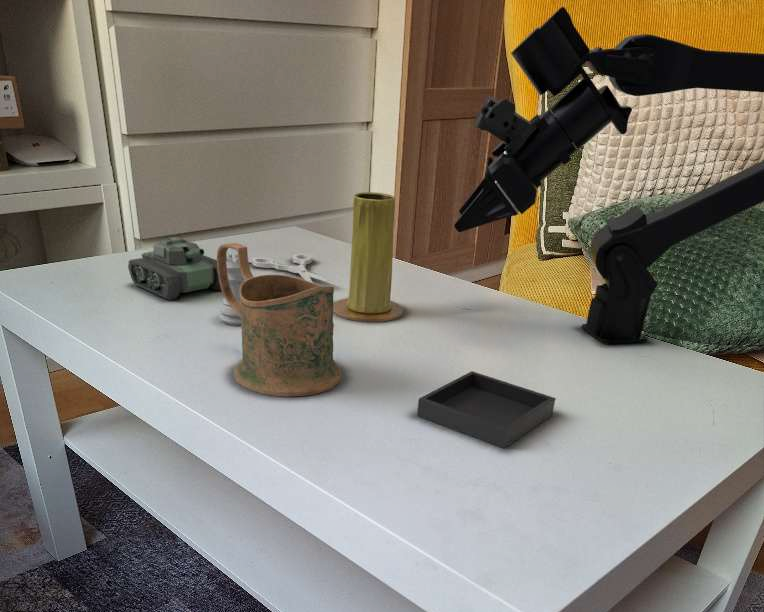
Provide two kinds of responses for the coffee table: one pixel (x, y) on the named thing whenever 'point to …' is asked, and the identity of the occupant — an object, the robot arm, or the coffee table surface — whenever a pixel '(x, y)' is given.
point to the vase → (371, 253)
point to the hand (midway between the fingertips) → (458, 221)
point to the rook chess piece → (235, 282)
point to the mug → (282, 331)
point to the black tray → (486, 408)
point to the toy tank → (174, 269)
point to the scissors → (300, 269)
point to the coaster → (345, 312)
